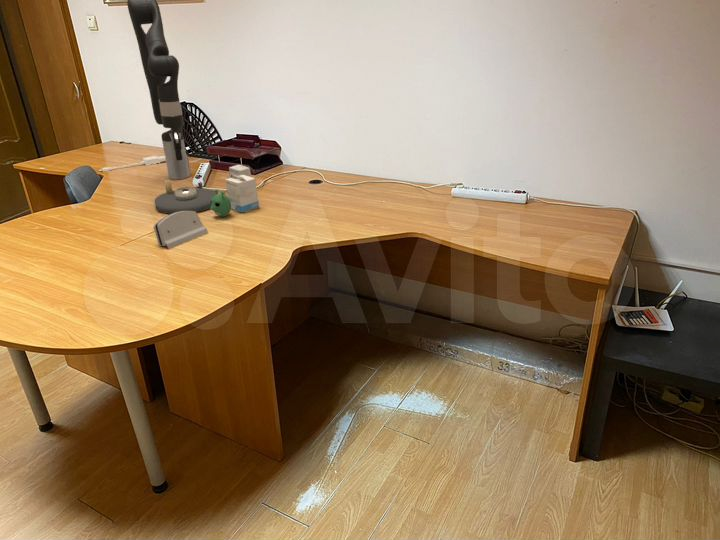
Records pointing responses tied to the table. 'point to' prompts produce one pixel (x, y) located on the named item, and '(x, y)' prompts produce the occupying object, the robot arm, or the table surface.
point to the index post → (200, 185)
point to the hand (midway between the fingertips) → (179, 159)
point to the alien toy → (220, 204)
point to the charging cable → (145, 161)
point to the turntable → (171, 205)
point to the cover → (185, 194)
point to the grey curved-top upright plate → (179, 228)
